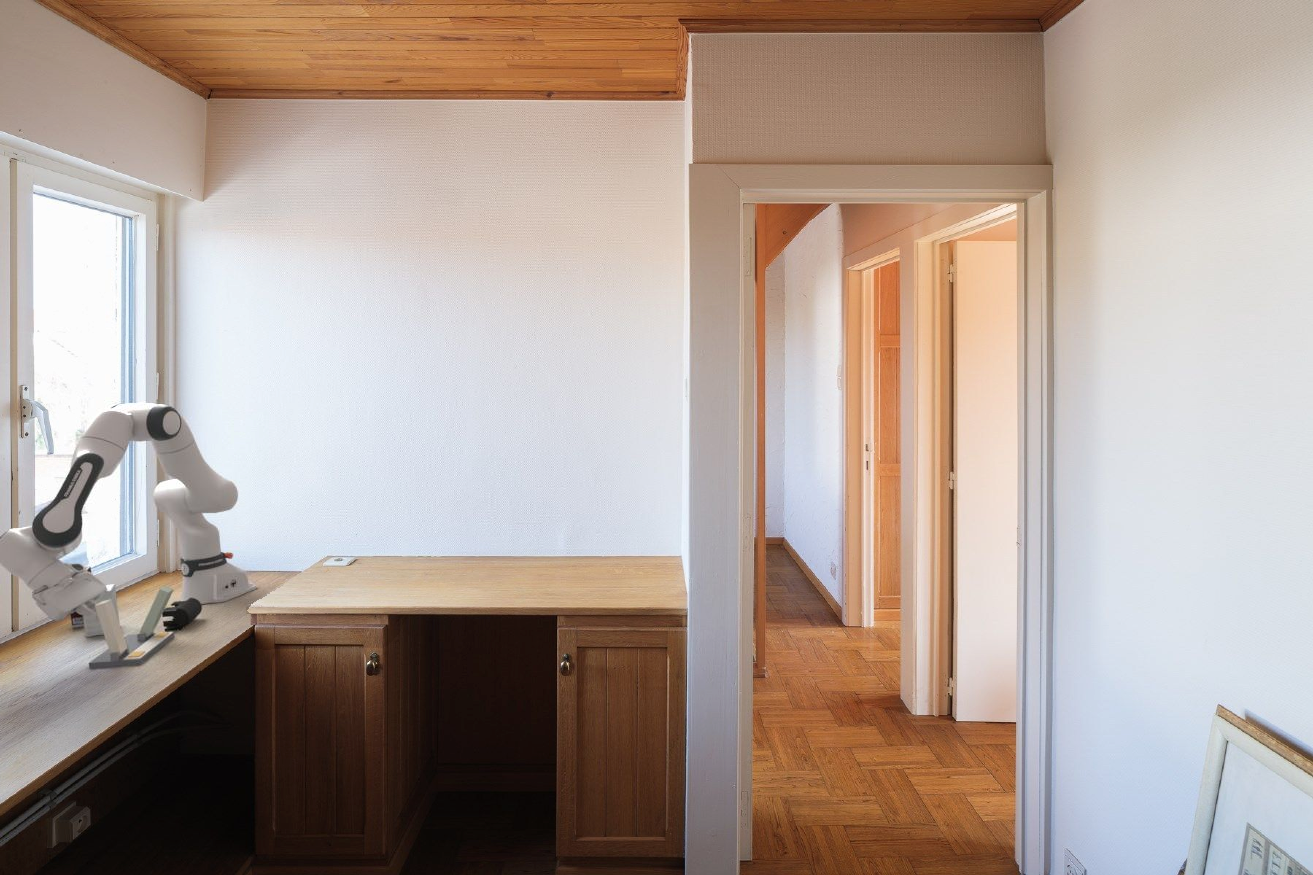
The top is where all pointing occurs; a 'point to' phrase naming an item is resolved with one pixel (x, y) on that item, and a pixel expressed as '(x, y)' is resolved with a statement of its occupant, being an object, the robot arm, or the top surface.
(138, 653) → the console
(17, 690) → the top surface
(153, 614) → the bar
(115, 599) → the supplement box
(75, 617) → the supplement box
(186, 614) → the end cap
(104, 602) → the bar
